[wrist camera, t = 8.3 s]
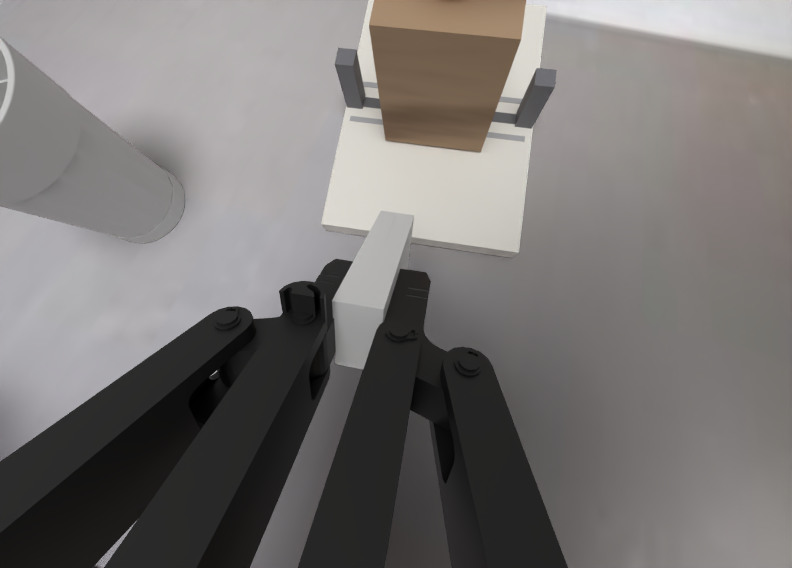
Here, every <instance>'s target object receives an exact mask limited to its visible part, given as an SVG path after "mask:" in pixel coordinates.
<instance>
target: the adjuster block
mask: <svg viewBox="0 0 792 568" xmlns="http://www.w3.org/2000/svg"><path fill="white" fill-rule="evenodd" d="M525 5H526V0H374V3H373V7H372V12H371V17H370V22H369V30H370V37H371V44H372V51H373V58H374V65H375V72H376V79H377V85H378V92H379V99H380V106H381V113H382V120H383V127H384V134H385V140H388V141H396V142H404V143H413V144H421V145H429V146H437V147H445V148H453V149H461V150H470V151H478V152H481V150H482V147H483V145H484V142H485V139H486V136H487V133H488V131H489V128H490V125H491V122H492V119H493V117H494V114H495V111H496V108H497V106H498V103H499V100H500V97H501V94H502V92H503V89H504V86H505V83H506V80H507V78H508V75H509V72H510V69H511V67H512V64H513V61H514V58H515V55H516V53H517V50H518V47H519V44H520V41H521V37H522V29H523V21H524V13H525Z"/></svg>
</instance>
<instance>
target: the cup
mask: <svg viewBox="0 0 792 568" xmlns="http://www.w3.org/2000/svg"><path fill="white" fill-rule="evenodd" d="M0 206H1V207H5V208H9V209H12V210H16V211H20V212H24V213H28V214H32V215H36V216H39V217H43V218H47V219H51V220H55V221H59V222H63V223H67V224H70V225H74V226H78V227H82V228H86V229H90V230H94V231H97V232H101V233H105V234H109V235H112V236H115V237H118V238H121V239H124V240H127V241H130V242H133V243H149V242H153V241H156V240H158V239H160V238H162V237H164V236H165V235H167V234H168V233H169V232H170V231H171V230H172V229H173V228H174V227H175V226H176V225H177V223H178V222H179V220H180V218H181V216H182V214H183V211H184V206H185V195H184V190H183V188H182V185H181V184H180V182H179V181H178V179H177V178H176V177H175V176H173V175H172V174H171V173H169V172H168V171H166V170H165V169H163V168H162V167H160V166H159V165H157V164H155V163H154V162H152V161H151V160H150V159H149V158H147V157H146V156H145V155H144V154H142V153H141V152H140V151H139V150H137V149H136V148H135V147H134V146H132V145H131V144H130V143H129V142H127V141H126V140H125V139H124V138H122V137H121V136H120V135H119V134H117V133H116V132H115V131H113V130H112V129H111V128H110V127H108V126H107V125H106V124H105V123H103V122H102V121H101V120H100V119H98V118H97V117H96V116H95V115H93V114H92V113H91V112H90V111H88V110H87V109H86V108H85V107H83V106H82V105H81V104H80V103H78V102H77V101H76V100H74V99H73V98H72V97H71V96H70V95H69V94H68V92H67V91H66V90H64V89H63V88H62V87H61V86H60V85H58V84H57V83H56V82H55V81H53V80H52V79H51V78H50V77H49V76H47V75H46V74H45V73H44V72H42V71H41V70H40V69H39V68H38V67H36V66H35V65H34V64H33V63H32V62H30V61H29V60H28V59H27V58H25V57H24V56H23V55H22V54H21V53H19V52H18V51H17V50H16V49H14V48H13V47H12V46H11V45H10V44H8V43H7V42H6V41H5V40H4V39H2V38H1V37H0Z"/></svg>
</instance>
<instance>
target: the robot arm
mask: <svg viewBox="0 0 792 568" xmlns="http://www.w3.org/2000/svg"><path fill="white" fill-rule="evenodd" d="M413 221H414V215H408V214H401V213H395V212H388V211H380V213H379V215H378V217H377V219H376V221H375V222H374V224H373V226H372V228H371V230H370V232H369V233H368V235H367V237H366V239H365V241H364V243H363V245H362V246H361V248H360V250H359V252H358V254H357V256H356V257H355V259H354V261H353V262H352V261H346V260H340V259H335V260H333V261H332V262H330V263H328V264H327V265H326V266H325V267H324V269H323V270H322V272H321V275H319V276H318V278H317V279H316V281H315V282H310V281H299V282H294V283H291V284H288V285H286V286H284V287H283V288H282V289H281V290H280V291H279V293H280V299H281V305H282V311H283V313H282V315H281V316H280V317H276V318H264V319H253V316H252V314H251V312H250V311H249V310H247V309H246V308H242V307H238V306H237V307H226V308H223V309H219V310H217V311H215V312H213V313H211V314H210V315H208V316H207V317H205V318H204V319H203V320H201V321H200V322H198V323H197V324H195V325H194V326H193V327H191V328H190V329H188V330H187V331H185V332H184V333H183V334H181V335H180V336H178V337H177V338H176V339H174V340H173V341H171V342H170V343H168V344H167V345H166V346H164V347H163V348H161V349H160V350H158V351H157V352H156V353H154V354H153V355H151V356H150V357H149V358H147V359H146V360H144V361H143V362H141V363H140V364H139V365H137V366H136V367H134V368H133V369H131V370H130V371H129V372H127V373H126V374H124V375H123V376H122V377H120V378H119V379H117V380H116V381H114V382H113V383H112V384H110V385H109V386H107V387H106V388H104V389H103V390H102V391H100V392H99V393H97V394H96V395H95V396H93V397H92V398H90V399H89V400H87V401H86V402H85V403H83V404H82V405H80V406H79V407H77V408H76V409H75V410H73V411H72V412H70V413H69V414H67V415H66V416H65V417H63V418H62V419H60V420H59V421H58V422H56V423H55V424H53V425H52V426H50V427H49V428H48V429H46V430H45V431H43V432H42V433H40V434H39V435H38V436H36V437H35V438H33V439H32V440H31V441H29V442H28V443H26V444H25V445H23V446H22V447H21V448H19V449H18V450H16V451H15V452H13V453H12V454H11V455H9V456H8V457H6V458H5V459H4V460H2V461H1V462H0V568H92V567H93V566H94V565H95V564H96V563H97V562H98V561H99V560H100V559H101V558H102V557H103V556H104V554H105V553H106V552H107V551H108V550H109V549H110V548H111V547H112V546H113V545H114V544H115V543H116V542H117V541H118V540H119V539H120V537H121V536H122V535H123V534H124V533H125V532H126V531H127V530H128V529H129V528H130V527H131V526H132V525H133V524H134V523H135V522H136V523H135V524H134V526H133V527H132V529H131V530H130V531H129V533H128V534H127V536H126V537H125V539H124V540H123V541H122V543H121V544H120V546H119V547H118V549H117V550H116V551H115V553H114V554H113V556H112V557H111V559H110V560H109V561H108V563H107V564H106V566H105V567H104V568H250V566H251V563H252V561H253V558H254V556H255V554H256V551H257V549H258V547H259V544H260V542H261V539H262V537H263V535H264V532H265V530H266V527H267V525H268V523H269V520H270V518H271V516H272V513H273V511H274V508H275V506H276V504H277V501H278V499H279V496H280V494H281V492H282V489H283V487H284V485H285V482H286V480H287V477H288V475H289V473H290V470H291V468H292V465H293V463H294V461H295V458H296V456H297V454H298V451H299V449H300V446H301V444H302V442H303V439H304V437H305V434H306V432H307V430H308V427H309V425H310V423H311V420H312V418H313V415H314V413H315V411H316V408H317V406H318V403H319V401H320V399H321V396H322V394H323V392H324V389H325V387H326V384H327V382H328V380H329V376H330V363H331V361H332V359H333V356H334V354H335V364H337V365H342V366H347V367H353V368H358V369H363V372H362V375H361V378H360V381H359V384H358V387H357V390H356V393H355V396H354V399H353V402H352V405H351V408H350V411H349V414H348V418H347V421H346V424H345V427H344V430H343V433H342V436H341V439H340V442H339V445H338V448H337V451H336V454H335V457H334V460H333V463H332V466H331V469H330V472H329V475H328V478H327V481H326V484H325V487H324V490H323V493H322V496H321V499H320V502H319V505H318V508H317V511H316V514H315V517H314V520H313V523H312V526H311V529H310V532H309V535H308V539H307V542H306V545H305V548H304V551H303V554H302V557H301V560H300V563H299V566H298V568H384V566H385V560H386V554H387V548H388V542H389V535H390V529H391V523H392V517H393V511H394V505H395V499H396V492H397V486H398V480H399V474H400V468H401V462H402V456H403V450H404V443H405V437H406V431H407V425H408V419H409V413H410V410H412V411H414V412H416V413H417V414H419V415H421V416H423V417H425V418H426V419H428V420H429V423H430V429H431V436H432V442H433V449H434V455H435V462H436V468H437V475H438V481H439V488H440V494H441V501H442V507H443V514H444V520H445V527H446V533H447V540H448V546H449V553H450V559H451V566H452V568H568V567H567V564H566V562H565V559H564V556H563V554H562V551H561V548H560V546H559V543H558V540H557V538H556V535H555V532H554V530H553V527H552V524H551V522H550V519H549V516H548V514H547V511H546V508H545V506H544V503H543V500H542V498H541V495H540V492H539V490H538V487H537V484H536V482H535V479H534V476H533V474H532V471H531V468H530V466H529V463H528V460H527V458H526V455H525V452H524V450H523V447H522V444H521V442H520V439H519V436H518V434H517V431H516V428H515V426H514V423H513V420H512V418H511V415H510V412H509V409H508V407H507V404H506V401H505V399H504V396H503V393H502V391H501V388H500V385H499V383H498V380H497V377H496V375H495V372H494V369H493V367H492V365H491V363H490V361H489V360H488V358H487V357H485V356H484V355H483V354H482V353H481V352H479V351H476V350H474V349H472V348H466V347H458V348H453V349H452V350H450V351H448V352H447V351H444V350H442V349H440V348H438V347H437V346H435V345H433V344H432V343H431V342H430V341H429V340H428V339H427V338H426V336H425V334H424V331H423V325H424V319H425V313H426V307H427V300H428V294H429V288H430V282H431V281H430V279H429V277H428V275H427V273H425V272H418V271H412V270H407V269H408V263H409V255H410V246H411V238H412V230H413ZM216 370H217V372H216V373H215V374H214V375H212V374H213V373H214V372H215V371H216ZM211 375H212V376H211ZM138 518H139V519H138ZM137 519H138V520H137Z"/></svg>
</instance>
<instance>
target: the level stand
mask: <svg viewBox="0 0 792 568" xmlns="http://www.w3.org/2000/svg"><path fill="white" fill-rule="evenodd" d="M373 3H374V0H369V1H368V6H367V11H366V16H365V20H364V25H363V30H362V34H361V39H360V44H359V48H358V53H357V50H354V49H344V48H338V52H337V56H336V61H335V67H336V70H337V74H338V77H339V80H340V84H341V87H342V91H343V94H344V98H345V101H346V110H345V114H344V119H343V124H342V128H341V133H340V138H339V142H338V147H337V152H336V157H335V161H334V166H333V171H332V175H331V180H330V185H329V189H328V194H327V199H326V204H325V208H324V213H323V218H322V222H321V224H322V225H323V227H324V228H325V229H326V230H327V231H333V232H340V233H346V234H353V235H360V236H367V235H368V233H369V232H370V230H371V228H372V226H373V224H374V222H375V221H376V219H377V217H378V215H379V213H380V211H388V212H395V213H401V214H408V215H414V221H413V230H412V238H411V243H414V244H421V245H428V246H435V247H441V248H448V249H455V250H462V251H468V252H475V253H482V254H489V255H496V256H502V257H509V258H513V257H514V256H515V255H517V254H518V253H519V246H520V237H521V229H522V220H523V211H524V202H525V193H526V185H527V176H528V167H529V158H530V149H531V140H532V132H533V125H534V123H535V121H536V120H537V118H538V116H539V114H540V113H541V111H542V109H543V107H544V105H545V104H546V102H547V100H548V98H549V96H550V95H551V93H552V91H553V89H554V88H555V79H556V70H551V69H542V68H540V61H541V52H542V44H543V35H544V26H545V17H546V8H547V6H540V5H528V4H526V5H525V13H524V21H523V29H522V37H521V41H520V44H519V47H518V50H517V53H516V55H515V58H514V61H513V64H512V67H511V69H510V72H509V75H508V78H507V80H506V83H505V86H504V89H503V92H502V94H501V97H500V100H499V103H498V106H497V108H496V111H495V114H494V117H493V119H492V122H491V125H490V128H489V131H488V133H487V136H486V139H485V142H484V145H483V147H482V150H481V152H478V151H470V150H461V149H453V148H445V147H437V146H429V145H421V144H413V143H404V142H396V141H388V140H385V134H384V127H383V120H382V113H381V106H380V99H379V92H378V85H377V79H376V72H375V65H374V58H373V51H372V44H371V37H370V30H369V22H370V17H371V12H372V7H373Z"/></svg>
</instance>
